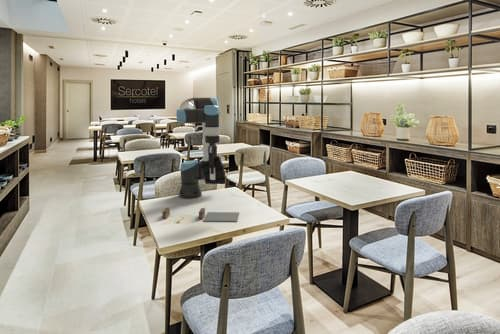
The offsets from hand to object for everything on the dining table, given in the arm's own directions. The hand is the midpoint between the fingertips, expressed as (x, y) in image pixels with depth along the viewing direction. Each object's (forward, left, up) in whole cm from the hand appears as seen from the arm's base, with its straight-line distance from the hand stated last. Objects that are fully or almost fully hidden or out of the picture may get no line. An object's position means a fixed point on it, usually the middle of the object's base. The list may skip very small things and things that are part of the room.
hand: (213, 178), depth 187 cm
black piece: (0, 0, -3) cm, 3 cm away
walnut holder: (0, -17, -22) cm, 28 cm away
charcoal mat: (0, +4, -22) cm, 22 cm away
